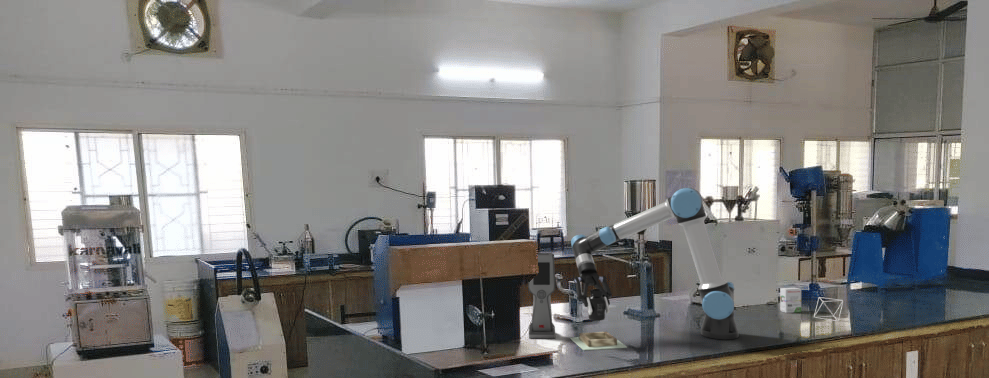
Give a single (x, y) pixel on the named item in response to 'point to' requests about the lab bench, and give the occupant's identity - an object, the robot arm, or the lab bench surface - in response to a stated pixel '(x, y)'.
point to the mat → (585, 347)
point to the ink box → (790, 300)
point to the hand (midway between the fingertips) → (599, 312)
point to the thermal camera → (542, 298)
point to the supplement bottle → (597, 305)
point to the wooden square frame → (597, 339)
